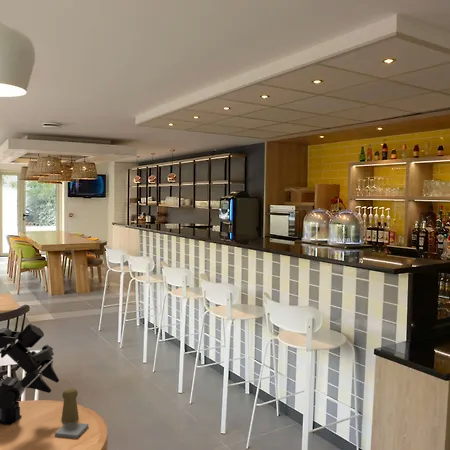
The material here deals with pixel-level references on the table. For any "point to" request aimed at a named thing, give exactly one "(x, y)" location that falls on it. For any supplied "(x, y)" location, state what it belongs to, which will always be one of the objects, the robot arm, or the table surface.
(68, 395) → the cork
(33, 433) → the table surface
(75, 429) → the coaster
